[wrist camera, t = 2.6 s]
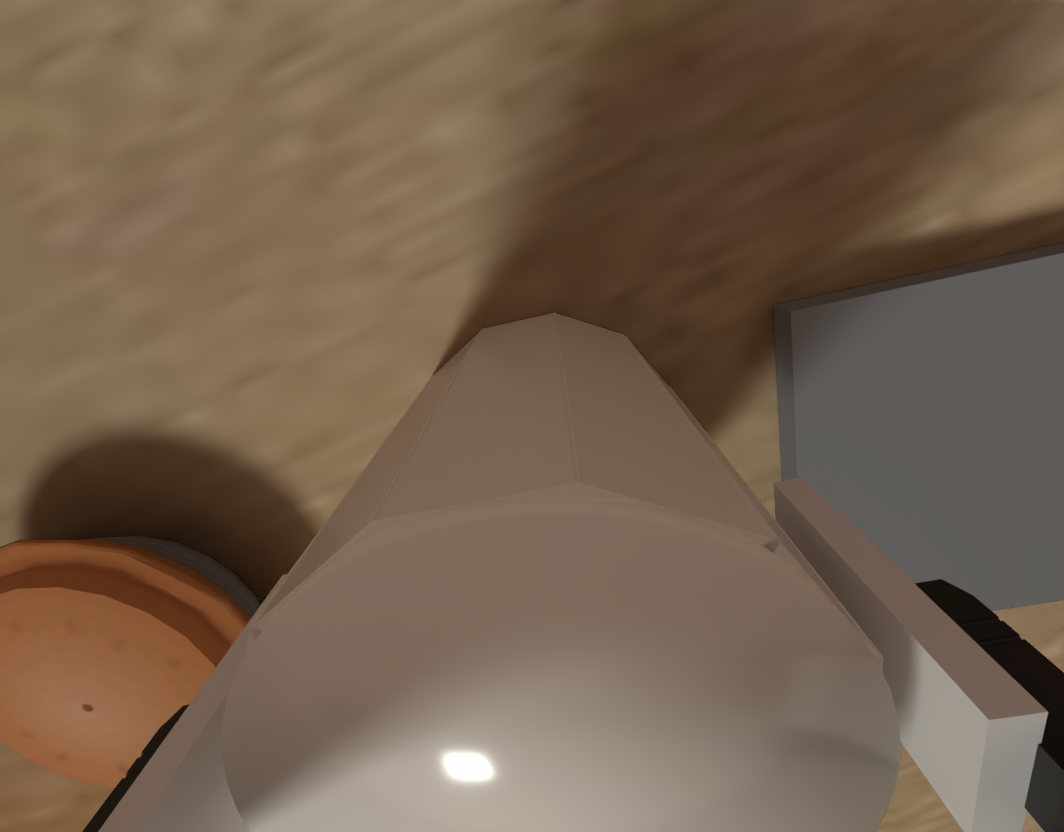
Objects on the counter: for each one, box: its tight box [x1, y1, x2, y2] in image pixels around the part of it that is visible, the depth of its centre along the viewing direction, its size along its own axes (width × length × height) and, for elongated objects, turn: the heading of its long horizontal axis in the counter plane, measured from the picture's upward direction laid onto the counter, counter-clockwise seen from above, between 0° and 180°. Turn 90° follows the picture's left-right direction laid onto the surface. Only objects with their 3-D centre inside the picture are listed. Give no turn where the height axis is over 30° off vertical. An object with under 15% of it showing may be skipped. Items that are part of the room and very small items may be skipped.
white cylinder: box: [222, 312, 901, 832], centre depth 15 cm, size 11×11×14 cm
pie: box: [0, 536, 260, 788], centre depth 24 cm, size 15×16×5 cm
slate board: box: [773, 242, 1064, 611], centre depth 21 cm, size 18×16×2 cm
